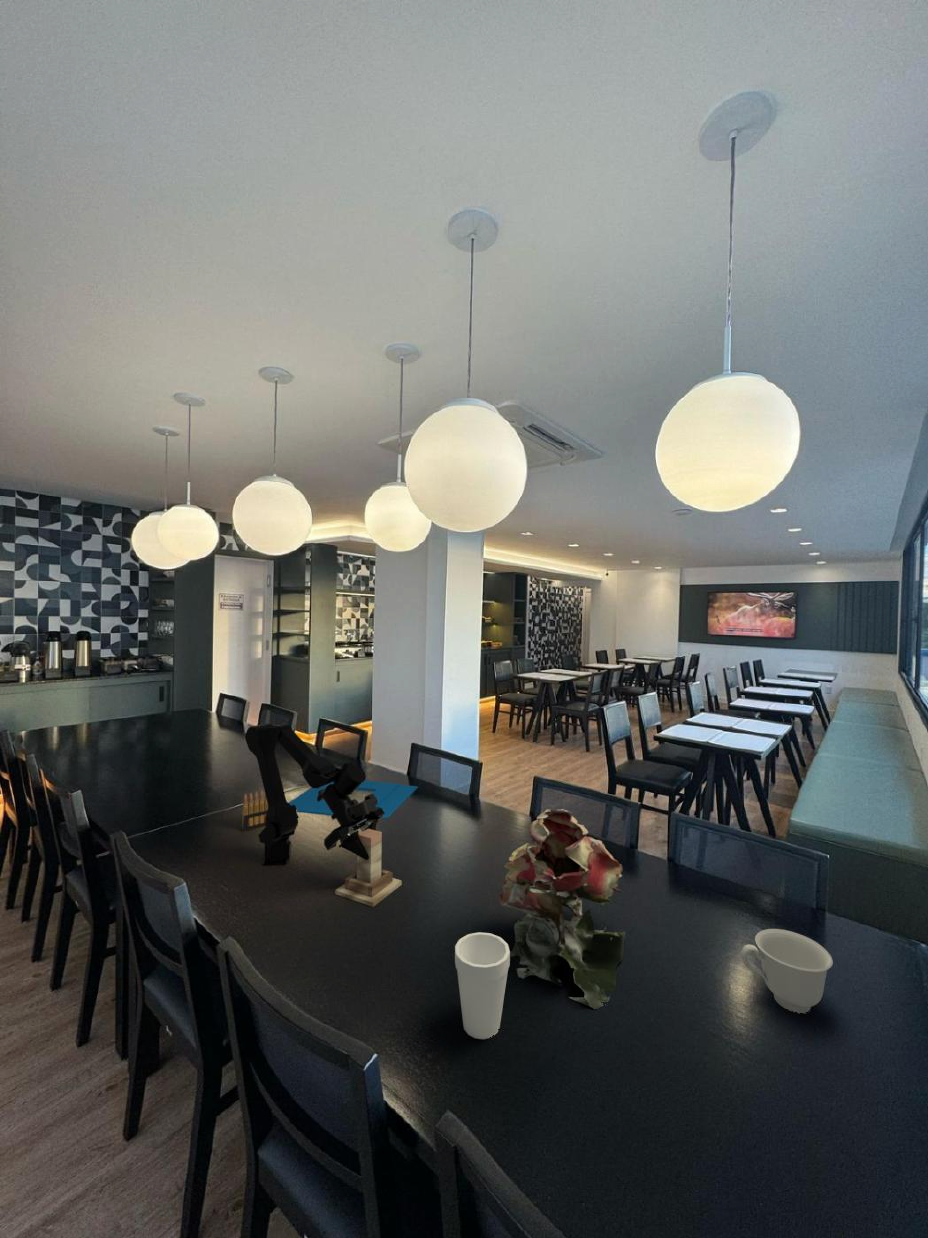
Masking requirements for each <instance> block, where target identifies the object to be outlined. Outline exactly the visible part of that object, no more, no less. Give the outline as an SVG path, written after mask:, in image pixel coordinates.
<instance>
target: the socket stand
mask: <svg viewBox="0 0 928 1238" xmlns="http://www.w3.org/2000/svg"><path fill="white" fill-rule="evenodd" d="M393 876H394V875H393V872H392V871H390V870H386V869H382V868H381V877H380V878H379V879H378V880H376V881H375V882H373V883H372V884H370V883H366V882H363V881H360V880H357V870H356V871H354V873H352V874H349V876H347V877H346V878H344V881H345V882H344V883H343V884H342V885H341V886H339V887H337V888H336V889H335V890H334V894H335V895H336V896H340V897H343V898H346V899H347V900H348V899H349V900H351V901H355V902H357V903H360V904H364V905H367V906H369V907H373V908H374V907H375V906H376V905H378V904H379V903H380V902H381V901H383V900H384V899H385V898H387V897H388V896H389V895H390V894H391V893H393V892H394V891H396V890H397V889H398V888H399V887H401V886H402V883H403V882H402V880H401V879H398V878H395V877H393Z"/></svg>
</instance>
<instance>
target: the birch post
mask: <svg viewBox="0 0 928 1238" xmlns="http://www.w3.org/2000/svg"><path fill="white" fill-rule="evenodd" d="M382 834H383V832H382V831H379V830H377V829H376V830H372V829H367V830H365V831H363V832H362V831H361V832H359V840H360V841H361V843H362V845H363V846H364V848H365V850H366V852H367V854H368V856H369V859H368V860H365V859H363V858H361V857H359V856H358V855H356V871H357V880H360V881H363V882H366V883H370V884H372V883H373V882H375V881H376V880H378V879H379V878H380V877H381V869H382V853H383V852H382V849H383V848H382V842H383V841H382V838H383V835H382Z"/></svg>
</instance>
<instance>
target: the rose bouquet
mask: <svg viewBox="0 0 928 1238" xmlns="http://www.w3.org/2000/svg"><path fill="white" fill-rule="evenodd" d="M588 834H589V831H588V829H586V827H585V825H584V824H579V823H578V820H577V818H576V817H574V816H573V813H572V811H569V810H566V809H563V808H561V809H558V808H557V809H555V810H553V809H551V808H548V809H545V810H544V811H543V812H542V813H540V814H539V815H538V816H537V817H536V820H534V821H532V823H531V824H530V826H529V836H530V838H531V839H533V840H534V841H533V842H529V843H528V842H527V843H525V844H523V845H522V846H519V847H518V848H517V849H515V850H513V852H512V853H511V855H510V856H509V858H508V860H509V862H507V863H505V864H504V868H505V869H508V870H509V871H508V872H507V873H506V875H505V877H504V880H505V881H504V884H503V885H502V886H501V889H502V890H503V893H500V894H499V902H500V906H502V907H506V908H511V909H514V910H518V911H521V912H522V913H525V914H526V915H525V916H524V917H522V918H524V919H525V920H524V921H523V922H519V923H517V922H516V923H515V924H514V927H513V930H514V940H515V943H514V946H513V949H512V950H511V951H510V958H512V957H515V956H518V957H520V962H519V965H521V966H522V965H523V966H527V967H519V968H516V973H517V976H518V978H520V979H521V978H522V979H527V978H528V977H530V976H537V977H538V978H539V979H542V980H545V981H549V982H551V983H553V984H555V985H557V986H559V987H563V986H564V982H563V981H562V980H561V979H559V978H557V977H556V976H555V975H554V972H555V970H556V968H557V967H559V966H561V965H563V962H562V961H563V960H566V961H567V962H568V964H569V966H570V968H571V969H574V970H573V972H572V973H573V974H572V975H573V983H574V984H575V985H576V986H578V987H579V988H580V989H581V990H582V992H583V993H584V997H582V996H581V997H580V996H579V997H573V996H571V997H570V996H568V998H569V999H571V1000H573V1001H575V1002H578V1003H581V1004H583V1005H585V1006H588V1007H590V1008H592V1009H594V1010H595V1009H597V1010H599V1009H600V1008H602V1007H605V1006H607V1005H606V1004H605V1006H604V1005H603V1003H601V1002H608V1003H609V1001H610V999H611V996H612V995H609V996H607V994H606V993H605V991H611V993H614V990H615V988H616V987H617V974H618V970H619V969H618V968H617V967H618V965H619V963H620V962H621V961H622V960H623V956H624V948H625V947H624V942H625V939H626V936H627V935H626V931H622V932H620V931H609V932H605V930H606V928H607V927H605V928H604V930H603V929H602V930H601V929H600V930H599V929H595V928H594V927H595V923H594V920H593V918H592V915H591V908H589V909H588V910H587V911H585V912H584V913H583V906H582V905H583V900H582V899H584V900H587V901H590V902H592V903H596V904H597V905H602V906H604V907H605V906H606V905H605V904H608V905H610V904H611V903H610V902H612V900H611V899H609V898H610V897H612V896H613V894H614V891H616V892H618V893H621V890H620V889H618V888H617V887H618V886H619V884H618V883H619V880H620V878H622V877H623V875H622V874H621V873H622V872H623V869H624V868H623V865H622V863H619V861H618V860H617V859H615V858H614V856H613V855H612V854H611V853H610V852H609V851H608V850H607V849H606V847H605V844H604V843H603V841H602V840H600V839H594V837H591V836H587V835H588ZM613 903H617V901H613ZM563 907H565V908H568V909H569V910H570V911H571V914H572V916H571V919H570V920H567V919H565V918H564V911H563ZM527 970H529V971H527ZM616 970H617V971H616Z"/></svg>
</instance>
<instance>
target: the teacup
mask: <svg viewBox="0 0 928 1238" xmlns="http://www.w3.org/2000/svg"><path fill="white" fill-rule="evenodd" d="M754 940H755V941H754V942H755V943H756V946H757V947H758V948H759V949H758V948H757V947H756V946H755V945H754V944H746V945H744V946H743V947H742V949H741V953H740V958H741V960H742V963H743V964H744V965H745V967H746V968H747V969H748V970H749V971H751V972H754V973H756V974H758V975H759V976H761V977H762V978H763V979H764V982H765V984H766V986H767V988H768V989H769V990H770V991H771V992H772V993H773V998H774V1000H775V1001H776V1003H777V1004H778V1005H780V1006H781V1007H782V1008H784V1009H786V1010H787V1009H788V1010H787V1011H790V1012H792V1011H793V1012H792V1013H795V1012H797V1013H796V1014H800V1013H803V1014H807V1013H806V1012H808V1011H809V1010H810V1009H811V1008H812V1007H815V1006H816V1005H817V1004H818V1003H819V1002H820V1001H821V1000H822V998H823V995H824V990H825V985H826V984H825V983H826V977H827V974H828V970H829V969H831V967H833V962H834V961H833V958H832V955H831V954H830V953H829V952H828V951H827V949H825V947H823V946H822V945H821V944H820V943H818V942H817V941H815V940H813V939H811V938H810V937H808V936H806V935H802V934H800V933H797V932H794V931H791V930H786V929H781V928H768V929H763V930H761V931H759V932H757V934H756V935H755V937H754ZM750 953H754V955H755V957H756V958H757V959H758V960H760V961H761V967H762V970H761V969H760V968H759V967H757V966H756V965H753V964H752V963H750V961H749V960H748V955H749V954H750ZM810 1011H811V1010H810ZM810 1011H809V1012H810ZM809 1012H808V1013H809Z"/></svg>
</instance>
